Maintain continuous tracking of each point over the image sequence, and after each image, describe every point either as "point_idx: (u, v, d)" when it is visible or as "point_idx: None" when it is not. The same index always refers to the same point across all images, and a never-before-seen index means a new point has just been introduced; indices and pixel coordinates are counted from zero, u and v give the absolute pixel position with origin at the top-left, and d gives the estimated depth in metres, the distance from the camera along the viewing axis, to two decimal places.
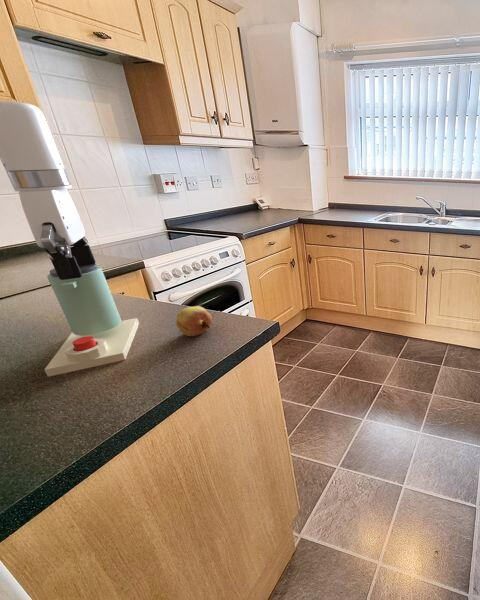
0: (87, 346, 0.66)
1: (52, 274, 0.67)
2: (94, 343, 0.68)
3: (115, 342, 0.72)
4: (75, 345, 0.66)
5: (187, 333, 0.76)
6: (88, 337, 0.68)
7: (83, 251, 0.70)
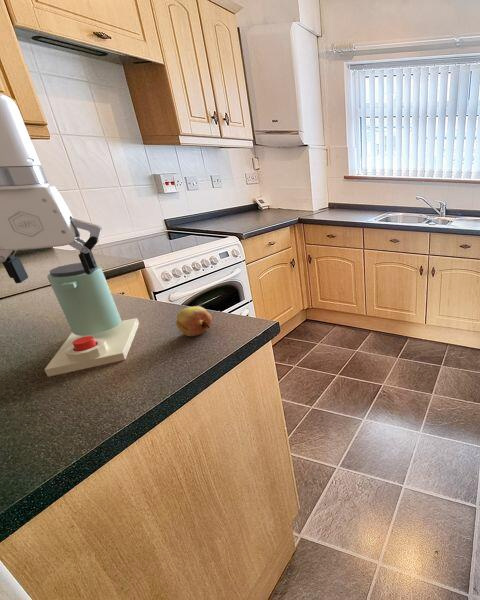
0: (87, 346, 0.66)
1: (52, 274, 0.67)
2: (94, 343, 0.68)
3: (115, 342, 0.72)
4: (75, 345, 0.66)
5: (187, 333, 0.76)
6: (88, 337, 0.68)
7: (19, 264, 0.60)
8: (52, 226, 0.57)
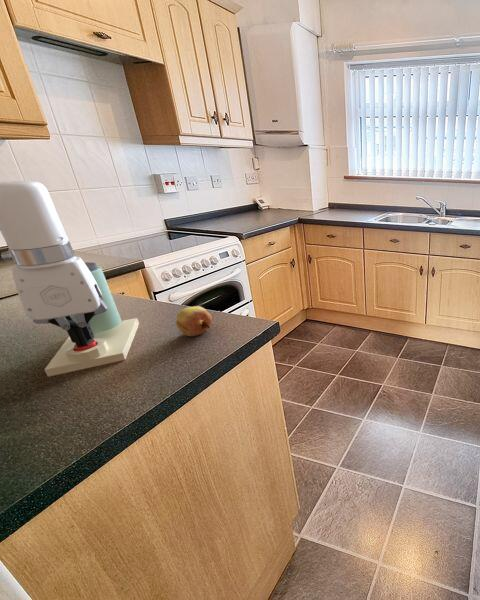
0: None
1: None
2: None
3: (115, 342, 0.72)
4: (77, 348, 0.66)
5: (187, 333, 0.76)
6: None
7: None
8: (79, 296, 0.62)
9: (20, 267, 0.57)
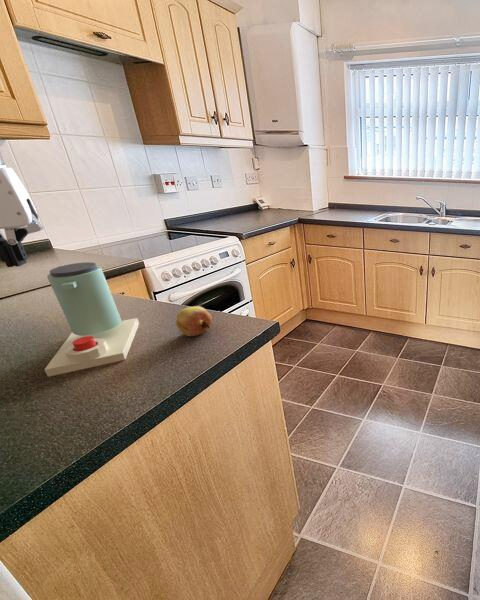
0: (87, 346, 0.66)
1: (52, 274, 0.67)
2: (94, 343, 0.68)
3: (115, 342, 0.72)
4: (75, 345, 0.66)
5: (187, 333, 0.76)
6: (88, 337, 0.68)
7: None
8: (7, 207, 0.58)
9: None
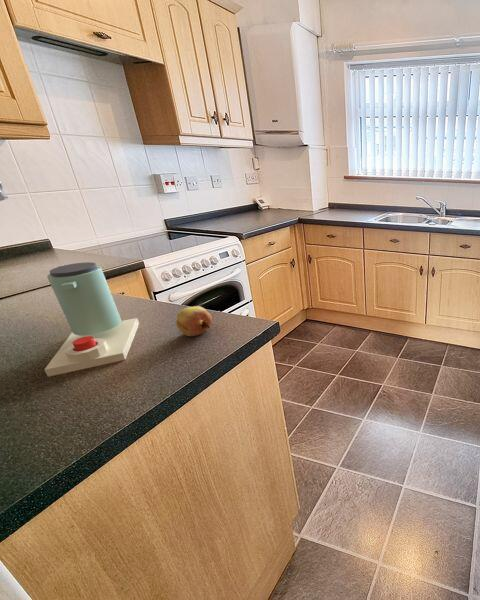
0: (87, 346, 0.66)
1: (52, 274, 0.67)
2: (94, 343, 0.68)
3: (115, 342, 0.72)
4: (75, 345, 0.66)
5: (187, 333, 0.76)
6: (88, 337, 0.68)
7: None
8: None
9: None
